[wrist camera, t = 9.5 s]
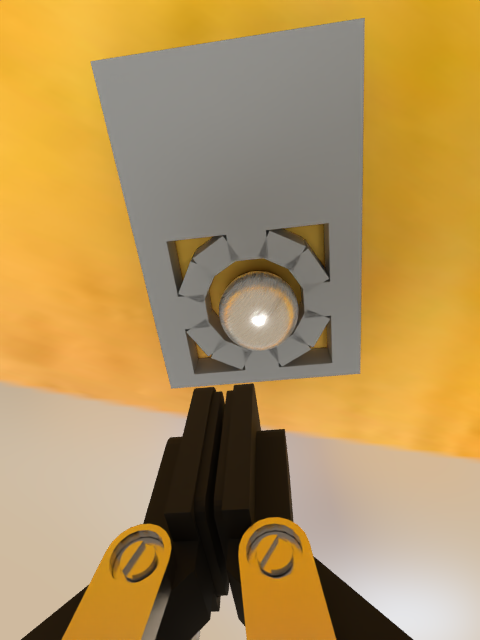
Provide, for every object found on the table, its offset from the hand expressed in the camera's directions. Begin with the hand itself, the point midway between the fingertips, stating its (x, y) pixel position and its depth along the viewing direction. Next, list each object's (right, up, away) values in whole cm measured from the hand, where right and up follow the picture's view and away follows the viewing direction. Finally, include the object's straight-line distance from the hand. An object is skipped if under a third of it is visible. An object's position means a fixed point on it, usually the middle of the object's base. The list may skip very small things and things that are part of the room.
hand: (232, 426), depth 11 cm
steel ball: (+2, +4, +19) cm, 19 cm away
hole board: (+1, +10, +19) cm, 21 cm away
